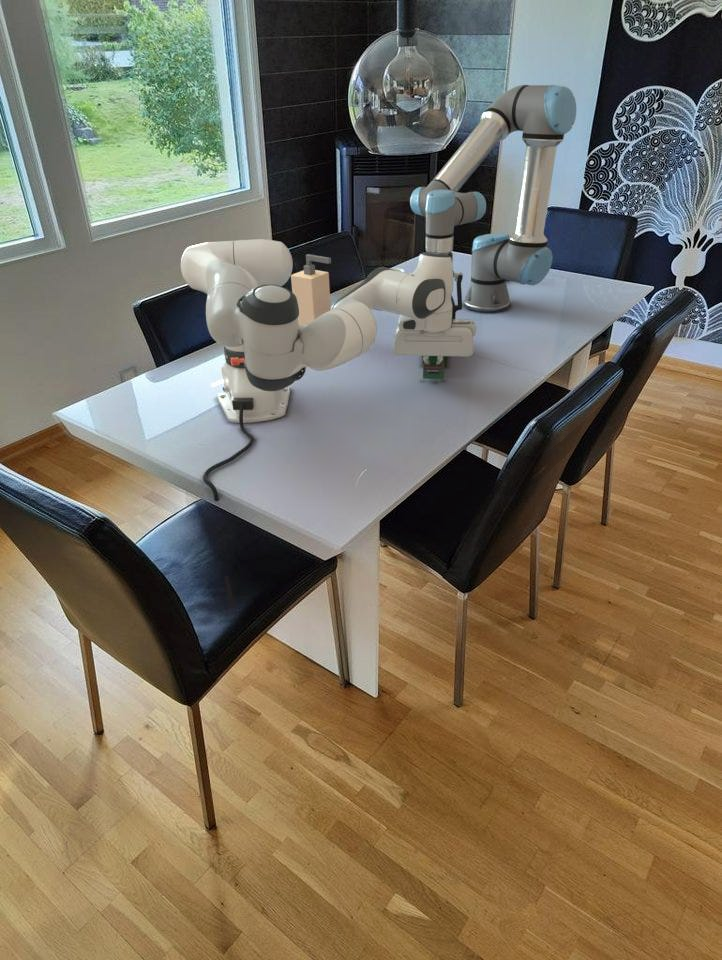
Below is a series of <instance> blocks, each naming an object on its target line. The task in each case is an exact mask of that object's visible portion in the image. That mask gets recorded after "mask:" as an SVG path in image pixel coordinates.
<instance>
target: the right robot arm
mask: <svg viewBox="0 0 722 960" xmlns="http://www.w3.org/2000/svg"><path fill="white" fill-rule="evenodd" d="M576 101H577V100H576V98H575V96H574V93H573V91H572V90H571V89H570V88H569V87H568V86H565V85H556V84H552V85H551V84H522V85H521V84H520V85H518V86H514V87H512V88H510V89H508V90H507V91H505V92H503V93H502V94H501V95H500V96H498V98H496V99H495V100H494V101H493V102H492V103H491V104H490V105H489V106H488V107H487V108H486V109H485V110H484V112H483V113H482V114H481V115H480V120H479V121H480V122H479V123H478V125H476V127H475V128H474V129H473V131H472V132H471V133H470V134H469V135H468V137H466V139H465V140H464V141H463V143H462V144H461V145H460V146H459V147H458V149H457V150H456V151H455V152H454V153H453V155H452V156H451V157H450V159H448V161H447V162H446V163H445V164H444V165H443V167H442V168H441V169H440V171H439V172H438V173H437V174H436V175H435V177H433V178H432V180H431V181H430V182H429V184H428V185H427V186H419V187H417V188H415V189H414V190H413V191H412V193H411V195H410V200H409V205H410V208H411V210H412V212H413V213H414V214H416V215H419V216H421V217H423V218H425V240H424V241H425V242H424V243H425V244H424V245H425V246H424V250H425V251H424V252H438V253H444V254H447V255H449V256H450V257H451V259H452V262H453V256H454V253H453V251H454V232H455V227H457V226H461V225H464V224H469V223H474V222H476V221H478V220H480V219H482V218H483V217H484V215H486V211H487V201H486V198H485V196H484V195H483V194H482V193H480V192H479V191H468V192H459V190H460V189H461V188H462V187H463V185H465V183H467V181H468V180H469V178H470V177H471V176H472V175H473V173H474V172H475V171H476V169H477V168H478V167H479V166H480V165H481V163H483V161H484V160H485V159H486V157H487V156H488V155H489V154H490V153H491V151H492V150H493V149H494V148H495V147H496V145H497V144H498V143H499V142H501V141H504V140H506V139H507V137H508V136H509V135H510V134H512V133H514V132H522V136H521V140H522V141H523V143H524V144H525V152H524V153H525V154H524V159H523V160H524V162H523V168H522V177H521V182H520V190H519V191H520V192H519V199H518V206H517V214H516V220H515V228H514V232H513V233H512V234H511V235H510V234H509V233H505V232H503V233H502V232H497V233H487V234H483V235H479V236H477V237H475V238H474V239H473V242H472V248H471V269H470V283H469V286H468V289H467V291H466V294H465V295H464V296H465V297H464V299H463V293H462V281H463V278H464V275H463V273H462V272H459V273H458V272H455V271H454V270H453V279H454V281H455V282H456V297H457V298H456V300H457V304H456V303H455V300H454V296H453V294H452V295H451V301H452V319H456V316H457V315H456V313H457V312H458V311H462V310H463V306H464V307H465V308H466V309H468V310H470V311H473V312H477V313H497V312H503V311H505V310H508V309H509V308H510V306H511V298H510V295H509V290H508V285H507V282H508V281H510V282H514V283H519V284H521V285H528V286H535V285H539V283H541V282H542V281H543V280H545V278H546V277H547V275H548V274H549V272H550V270H551V267H552V264H553V257H554V255H553V252H552V250H551V249H550V248H549V247H547V245H548V238H547V237H546V235H545V234H544V232H545V225H546V220H547V213H548V205H549V199H550V192H551V186H552V179H553V173H554V167H555V161H556V156H557V155H556V153H557V149H558V148H557V147H558V146H559V145H560V144H562V142H564V138H565V134H568V133H569V132H570V131H571V130H572V129H573V125H574V124H575V122H576V117H577V102H576Z"/></svg>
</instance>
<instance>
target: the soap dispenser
mask: <svg viewBox="0 0 722 960" xmlns="http://www.w3.org/2000/svg"><path fill="white" fill-rule="evenodd" d="M305 262H306V263H305V265H303V270H300V271H298V272H295V273H292V274H291V275H290V281H291V282H290V283H291V292H292V293H293V294H295V296H296V298H297V301H298V306H299V316H298V323H299V325H306V324H310V323H311V322H312V321H313V320H315V319H316V318H318V317H319V316H321V315H322V314H324V313H326V312H328V311H330V309H331V307H332V305H331V290H330V289H331V288H330V273H329V271H325V270H324V271H323V270H318V269H316V265H315V264H313V263H312V262H317V263H321V264H326V265H327V264H328V265H329V264H332V258H331V257H327V256H322V255H315V254H309V253H307V254H305Z"/></svg>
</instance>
